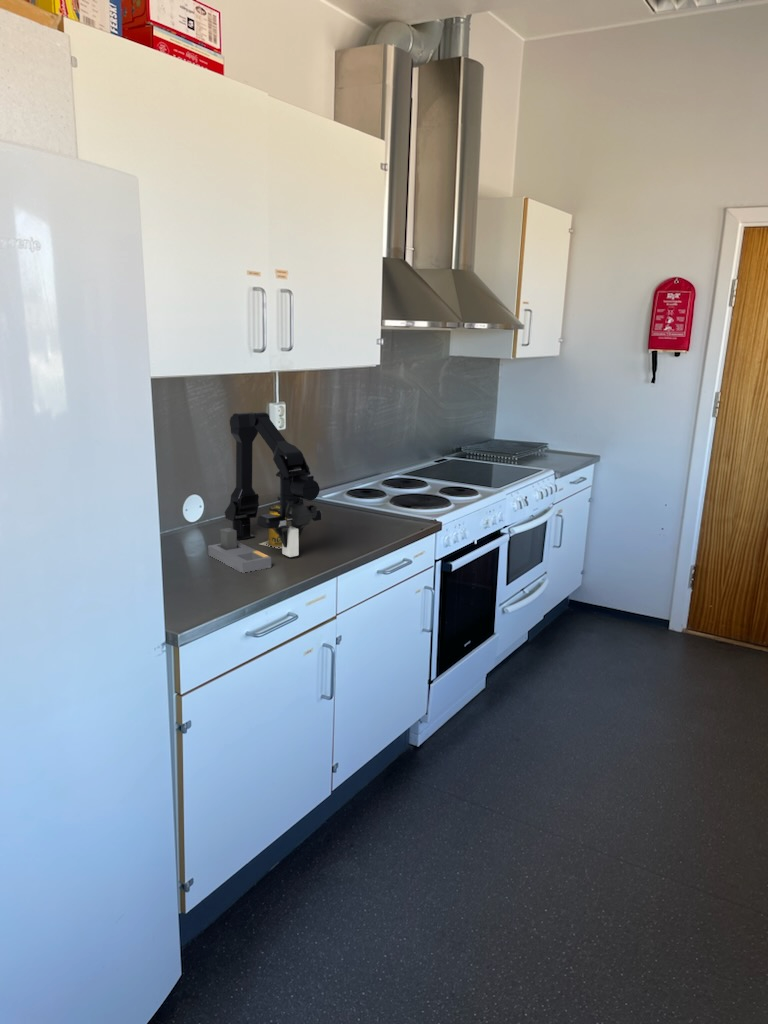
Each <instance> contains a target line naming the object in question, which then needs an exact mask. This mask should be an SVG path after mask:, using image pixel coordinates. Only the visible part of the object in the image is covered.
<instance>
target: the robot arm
mask: <svg viewBox="0 0 768 1024" xmlns="http://www.w3.org/2000/svg"><path fill="white" fill-rule="evenodd" d="M229 427H230V433H231V435H232V436H233V438H234V440H235V443H236V445H235V451H236V452H235V454H236V455H235V458H236V460H235V463H236V465H235V468H236V469H235V471H236V472H235V475H236V476H235V479H236V480H235V488H234V489H233V491H232V494H231V495H230V503H229V504H228V506H227V508H226V509H225V511H224V517H225V520H229V521H231V528H232V529H234V530H236V531H237V541H239V540H240V541H241V540H247V539H251V538H255V537H256V535H254V534H253V533H252V524H251V519H252V518H253V519H254V518H257V519H256V520H257V521H256V523H257V526H260V527H262V528H265V529H267V530H269V529H271V528H275V529H276V531H277V533H278V535H279V537H280V539H281V541H282V543H283V546H284V547H287V530H288V528H289V526H292V527H295V528H297V529H298V534H299V539H300V538H301V535H302V532H303V531H304V528H305V527H306V526H308V525H310V524H311V522H312V521H313V522H316V521H321V520H322V519H323V513H322V511H321V510H320V509H318V507H317V506H316V505H315V504H310V505H305V504H304V500H306V501H313V500H315V499H316V498H318V496H319V493H320V490H321V489H320V488H321V487H320V486H319V483H318V482H317V480H315V479H314V475H311V471H310V467H309V465H308V463H307V461H306V459H305V456H304V454H303V452H302V451H301V450H300V449H299V448H298V446H297V447H296V446H295V445H294V444H291V443H290V442H288V441H287V440H286V439H285V437H284V436H283V434H282V433H281V432H280V431H279V430H278V428H277V427H276V425H275V424H274V423H273V421H272V420H271V418H270V415H269V413H267V412H266V411H265V412H264V411H263V412H262V411H261V412H252V411H251V412H239V413H238V412H237V413H236V412H235V413H233V414H232V416H230V419H229ZM258 434H259V435H260V436H261V438H262V439H263V440H264V442H265V443H266V445H267V446H268V448H270V450H271V452H272V454H273V457H272V460H273V462H274V465H275V466H276V468H277V469H278V470H279V471H278V472H277V473H275V476H276V477H278V478H279V496H277V500H278V501H279V505H280V510H278V514H280V516H275V515H272V514H269V513H265V514H260V515H259V516H258V517H257V515H258V509H259V506H260V504H259V503H260V502H259V498H260V496H259V494H258V493H256V491H255V490H254V489H253V457H254V456H253V453H254V452H253V445H254V444H253V443H254V441H255V439H256V438H257V436H258ZM286 521H288V522H291V523H290V524H291V525H288V526H287V525H286Z"/></svg>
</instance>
